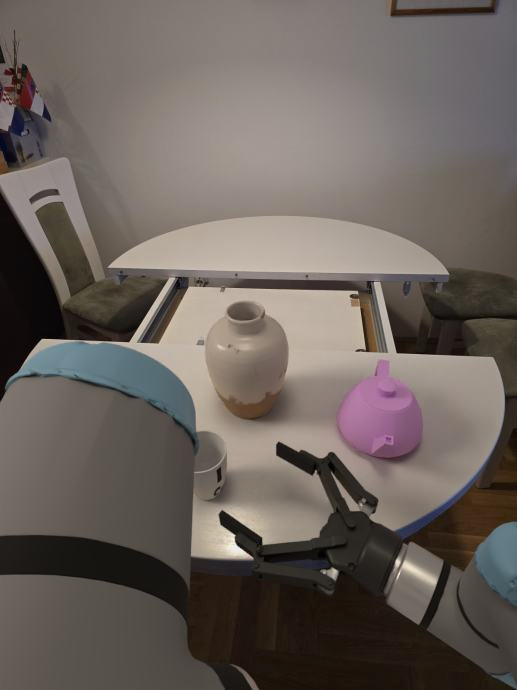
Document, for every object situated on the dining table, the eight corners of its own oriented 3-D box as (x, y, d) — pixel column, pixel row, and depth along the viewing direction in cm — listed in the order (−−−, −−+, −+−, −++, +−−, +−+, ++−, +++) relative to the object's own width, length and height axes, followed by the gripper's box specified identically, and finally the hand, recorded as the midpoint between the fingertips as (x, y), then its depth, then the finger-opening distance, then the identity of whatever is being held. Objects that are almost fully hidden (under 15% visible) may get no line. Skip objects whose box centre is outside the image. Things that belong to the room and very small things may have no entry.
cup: (224, 512, 65) (219, 476, 59) (177, 505, 66) (167, 469, 60) (235, 469, 72) (231, 432, 66) (191, 464, 73) (183, 427, 67)
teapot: (338, 386, 88) (344, 342, 80) (412, 394, 85) (426, 350, 78) (333, 472, 71) (340, 426, 63) (426, 486, 68) (445, 440, 61)
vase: (282, 435, 77) (285, 341, 63) (203, 426, 80) (188, 333, 66) (290, 379, 90) (293, 290, 76) (221, 373, 92) (212, 285, 78)
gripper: (344, 686, 43) (195, 566, 53) (421, 505, 58) (295, 439, 68) (352, 665, 38) (187, 538, 48) (434, 475, 54) (297, 409, 64)
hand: (251, 480), depth 58 cm, fingers open, 13 cm apart
